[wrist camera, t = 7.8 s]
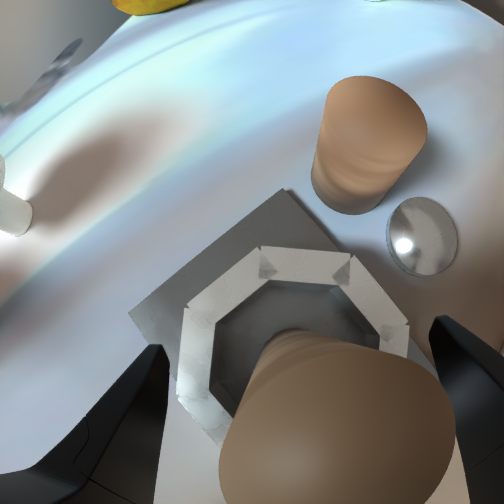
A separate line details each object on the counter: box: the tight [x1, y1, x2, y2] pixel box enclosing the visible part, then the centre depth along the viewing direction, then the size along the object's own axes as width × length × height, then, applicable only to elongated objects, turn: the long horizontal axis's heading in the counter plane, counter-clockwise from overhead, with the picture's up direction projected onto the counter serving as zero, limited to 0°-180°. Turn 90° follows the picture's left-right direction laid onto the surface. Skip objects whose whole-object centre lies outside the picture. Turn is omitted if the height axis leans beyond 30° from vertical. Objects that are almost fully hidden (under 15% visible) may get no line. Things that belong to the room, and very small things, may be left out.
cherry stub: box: [311, 76, 427, 215], centre depth 15 cm, size 5×5×7 cm
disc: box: [386, 197, 457, 277], centre depth 17 cm, size 5×5×1 cm
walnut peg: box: [219, 328, 456, 504], centre depth 10 cm, size 4×4×13 cm
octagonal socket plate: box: [128, 188, 440, 448], centre depth 15 cm, size 16×12×3 cm
